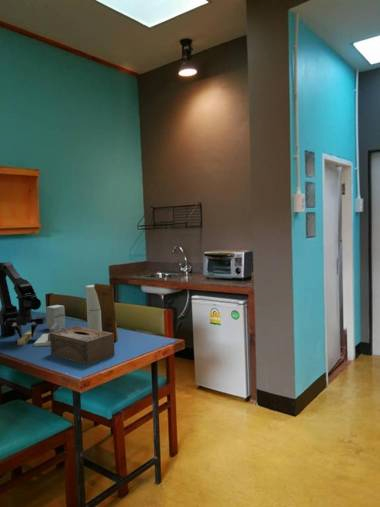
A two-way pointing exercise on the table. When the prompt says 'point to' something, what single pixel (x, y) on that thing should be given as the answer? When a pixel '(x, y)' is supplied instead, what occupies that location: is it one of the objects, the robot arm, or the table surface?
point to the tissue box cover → (82, 344)
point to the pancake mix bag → (107, 308)
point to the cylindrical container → (93, 309)
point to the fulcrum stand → (47, 336)
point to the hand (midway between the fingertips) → (26, 337)
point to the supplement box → (55, 316)
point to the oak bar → (25, 338)
